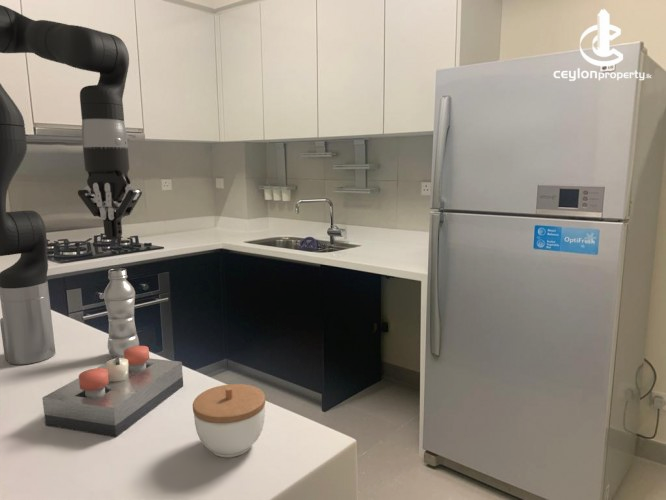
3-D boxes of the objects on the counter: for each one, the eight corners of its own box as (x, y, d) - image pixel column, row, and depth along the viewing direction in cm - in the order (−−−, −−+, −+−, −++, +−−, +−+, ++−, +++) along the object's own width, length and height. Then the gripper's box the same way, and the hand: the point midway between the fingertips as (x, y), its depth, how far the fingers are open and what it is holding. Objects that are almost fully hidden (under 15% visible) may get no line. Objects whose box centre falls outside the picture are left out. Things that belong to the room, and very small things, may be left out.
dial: (106, 375, 88) (105, 356, 88) (127, 372, 90) (127, 354, 90) (106, 382, 85) (106, 363, 85) (129, 380, 87) (128, 361, 86)
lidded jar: (222, 422, 82) (219, 370, 80) (279, 434, 78) (277, 379, 76) (180, 458, 72) (176, 398, 70) (243, 474, 68) (240, 411, 66)
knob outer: (76, 411, 81) (72, 377, 80) (95, 399, 86) (92, 367, 85) (98, 414, 80) (94, 380, 79) (116, 402, 84) (113, 369, 83)
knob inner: (121, 383, 92) (118, 353, 91) (136, 373, 96) (133, 344, 95) (141, 385, 91) (138, 355, 90) (155, 376, 95) (153, 346, 94)
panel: (45, 425, 81) (42, 397, 80) (122, 378, 99) (120, 355, 99) (116, 437, 78) (113, 408, 77) (183, 385, 96) (181, 361, 95)
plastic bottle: (120, 349, 115) (112, 266, 112) (145, 351, 114) (139, 267, 111) (102, 360, 109) (93, 272, 106) (129, 362, 108) (121, 273, 104)
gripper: (149, 146, 91) (156, 237, 94) (91, 147, 95) (99, 235, 98) (122, 144, 84) (130, 243, 87) (60, 146, 88) (69, 241, 91)
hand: (113, 239), depth 93 cm, fingers closed
